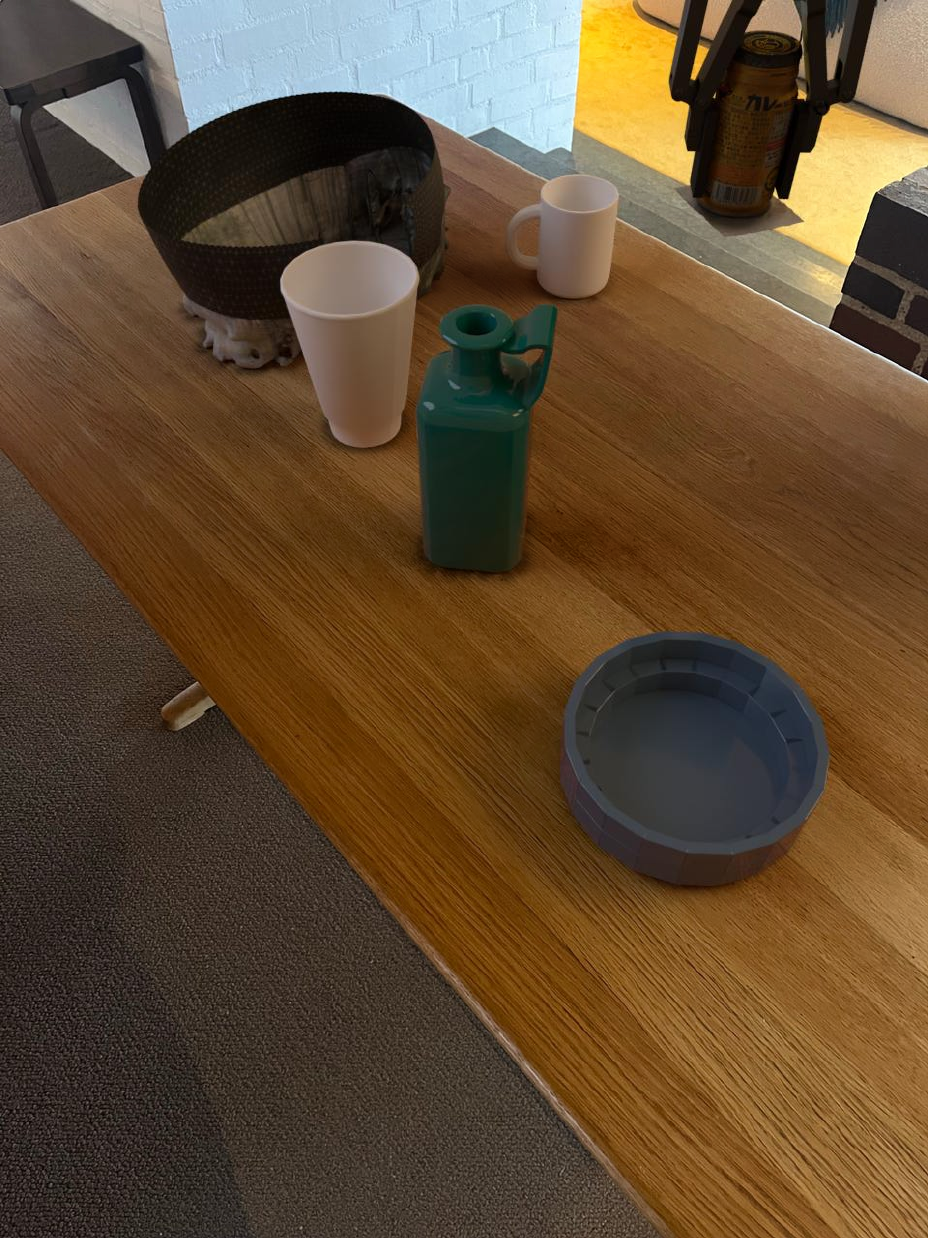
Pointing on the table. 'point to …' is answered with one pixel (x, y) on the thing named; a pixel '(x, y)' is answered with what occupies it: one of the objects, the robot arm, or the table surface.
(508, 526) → the pitcher
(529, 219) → the mug
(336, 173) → the basket
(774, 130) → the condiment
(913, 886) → the table surface
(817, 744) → the bowl
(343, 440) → the cup
